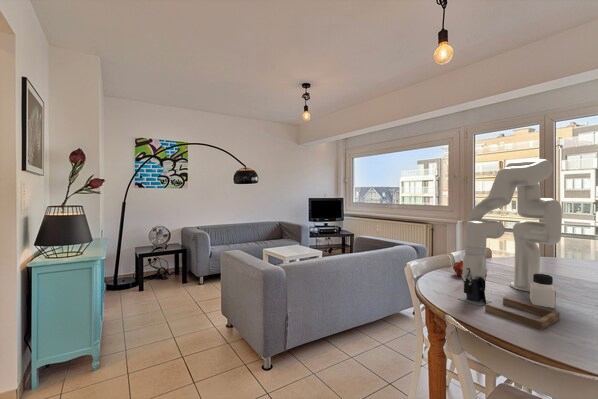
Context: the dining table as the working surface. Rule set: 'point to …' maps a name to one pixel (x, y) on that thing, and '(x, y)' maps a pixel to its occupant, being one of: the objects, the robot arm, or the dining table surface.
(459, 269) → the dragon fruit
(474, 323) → the dining table surface
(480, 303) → the mat
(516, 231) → the robot arm
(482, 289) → the speaker
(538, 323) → the walled lane
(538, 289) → the medicine bottle
